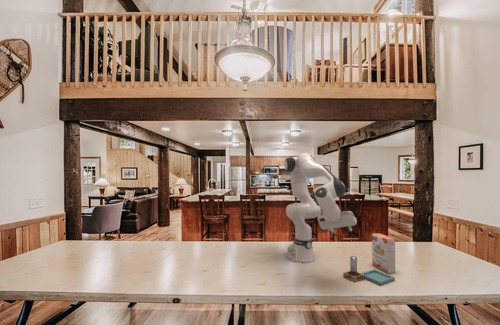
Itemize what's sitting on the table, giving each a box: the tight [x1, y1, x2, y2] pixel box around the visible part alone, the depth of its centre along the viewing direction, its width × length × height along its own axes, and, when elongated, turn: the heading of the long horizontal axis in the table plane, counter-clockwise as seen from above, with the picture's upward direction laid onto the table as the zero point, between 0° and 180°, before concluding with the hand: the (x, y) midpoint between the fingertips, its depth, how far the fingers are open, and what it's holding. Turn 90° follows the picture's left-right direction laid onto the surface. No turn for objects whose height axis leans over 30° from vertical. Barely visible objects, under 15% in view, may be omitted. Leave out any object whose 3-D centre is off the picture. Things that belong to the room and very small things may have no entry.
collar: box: [342, 270, 365, 283], centre depth 149 cm, size 8×8×2 cm
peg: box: [349, 255, 358, 277], centre depth 149 cm, size 4×4×12 cm
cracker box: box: [371, 232, 396, 275], centre depth 162 cm, size 14×6×21 cm, turn 11°
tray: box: [360, 269, 396, 287], centre depth 148 cm, size 13×13×2 cm
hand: (342, 231), depth 148 cm, fingers open, 8 cm apart
